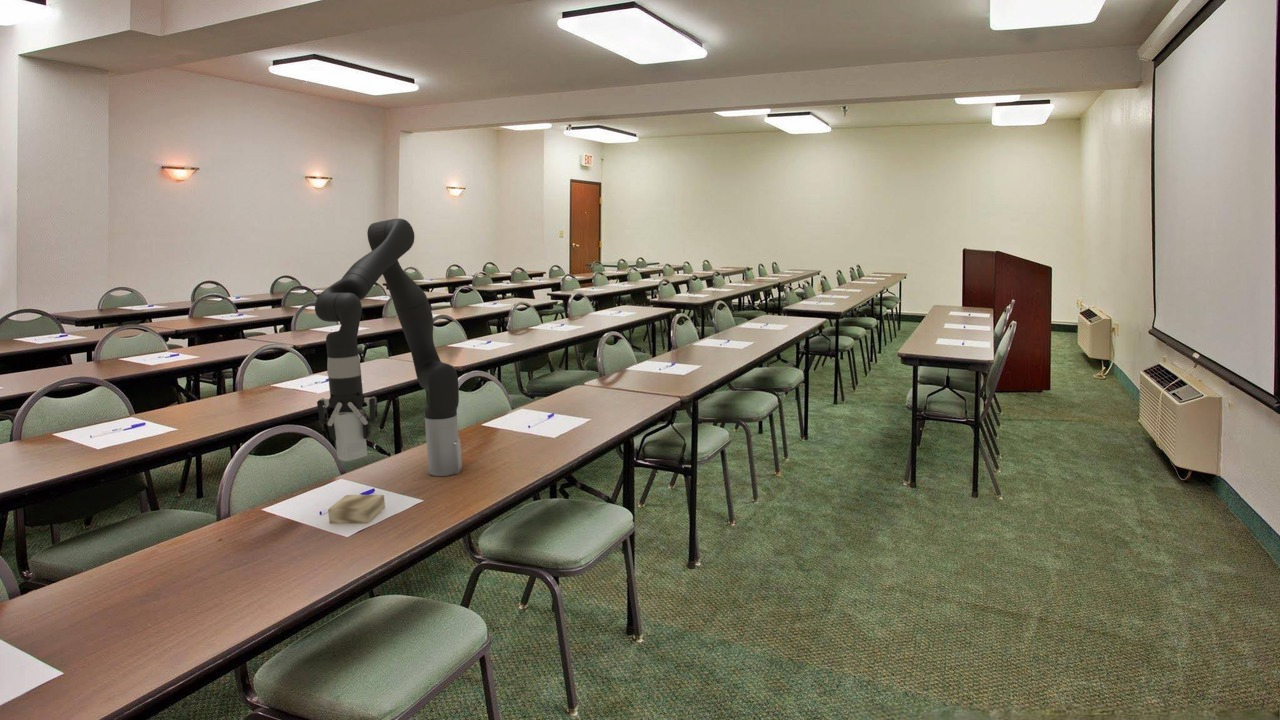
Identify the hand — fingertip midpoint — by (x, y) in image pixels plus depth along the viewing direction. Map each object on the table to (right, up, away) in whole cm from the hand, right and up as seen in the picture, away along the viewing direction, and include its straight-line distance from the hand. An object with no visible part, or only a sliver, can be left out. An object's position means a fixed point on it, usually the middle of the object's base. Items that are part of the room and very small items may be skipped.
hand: (350, 438), depth 182 cm
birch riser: (0, -20, +4) cm, 21 cm away
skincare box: (0, -5, +1) cm, 5 cm away
